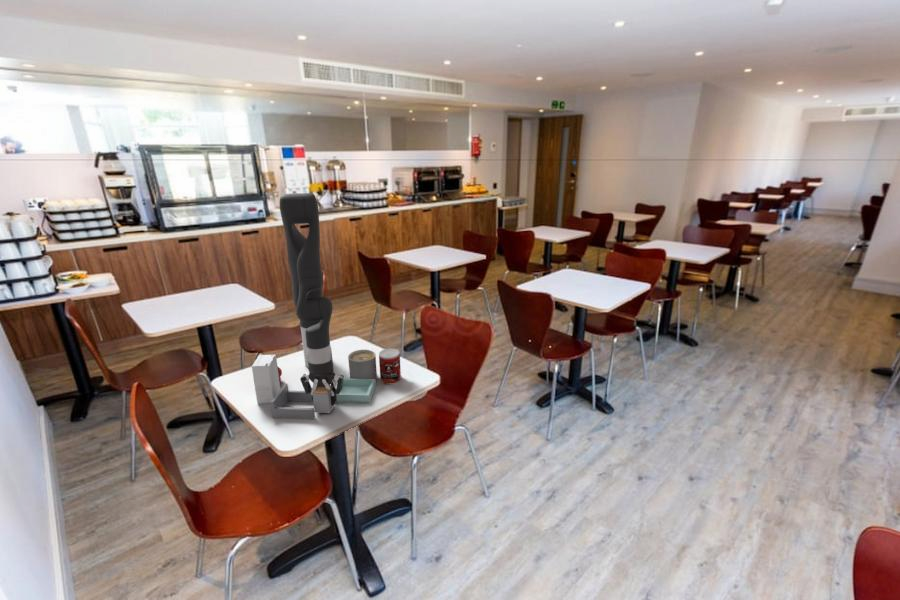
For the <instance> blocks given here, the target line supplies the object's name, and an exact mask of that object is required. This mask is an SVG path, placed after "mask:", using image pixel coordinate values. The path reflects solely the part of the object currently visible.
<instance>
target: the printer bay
mask: <svg viewBox="0 0 900 600" xmlns="http://www.w3.org/2000/svg"><path fill="white" fill-rule="evenodd" d="M288 402H310V403H311V402H312V403H313V401H312V395H311V394H310V393H308V394H307V393H305V390H290V389H289V386H288V383H285V384H283V386H282V387H280V390H279V392H278V393H277V394H276V395H275V397H274V398H273V399H272V400H271V402H270V403H269V404H270V409H271V415H272V416H271V417H272V419H293V420H294V419H297V420H298V419H299V420H314V419H316V412H315V410H314V407H293V406H289V407H288V406H286V405H287V404H288Z"/></svg>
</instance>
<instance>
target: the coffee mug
mask: <svg viewBox="0 0 900 600" xmlns="http://www.w3.org/2000/svg"><path fill="white" fill-rule="evenodd" d="M347 358H348V370H349V378H352V379H375V381H377V380H378V372H377V371H378V370H377V359H376V358H377V356H376V352H375V351H374V350H370V349H357V350H354V351H352V352H350V353H349V354H348V357H347Z"/></svg>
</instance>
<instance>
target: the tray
mask: <svg viewBox="0 0 900 600" xmlns="http://www.w3.org/2000/svg"><path fill="white" fill-rule="evenodd" d="M376 381H377V380H376ZM376 381H375V379H352V378H350V377H347V378H345V377H344V379H343V385H342V390H341V392H340V393H339V394H336V396H337V401H336V403H352V404H353V403H355V404H363V403H364V404H369V403H370V401H371V399H372V397H373V394H374V392H375V389H376V387H377V384H376ZM334 386H335V388H337V383H336V384H335V385H334Z"/></svg>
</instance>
